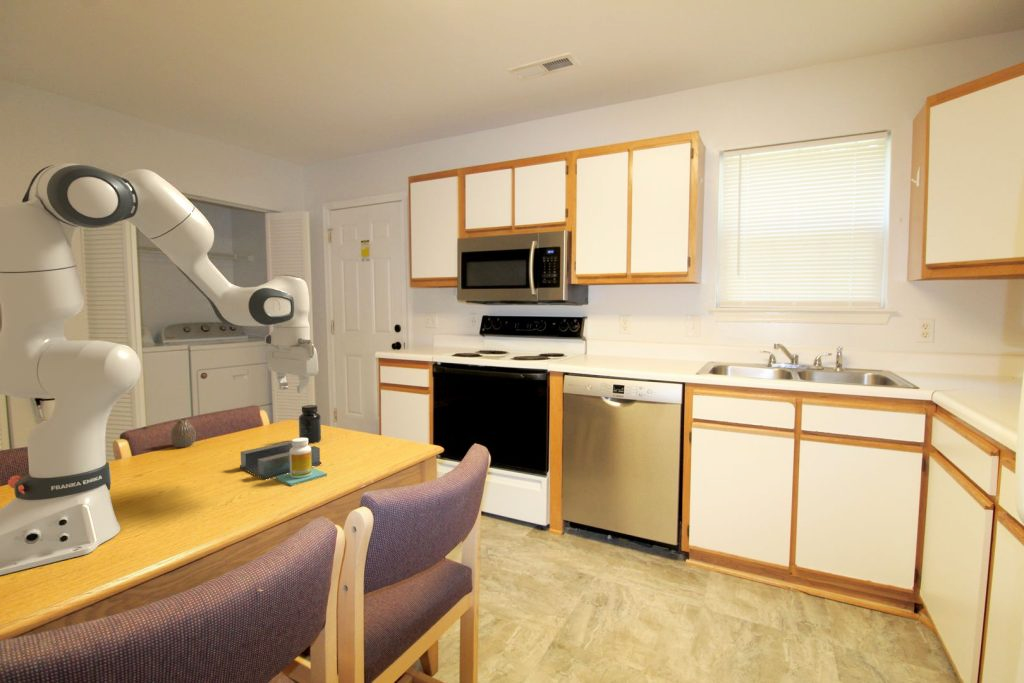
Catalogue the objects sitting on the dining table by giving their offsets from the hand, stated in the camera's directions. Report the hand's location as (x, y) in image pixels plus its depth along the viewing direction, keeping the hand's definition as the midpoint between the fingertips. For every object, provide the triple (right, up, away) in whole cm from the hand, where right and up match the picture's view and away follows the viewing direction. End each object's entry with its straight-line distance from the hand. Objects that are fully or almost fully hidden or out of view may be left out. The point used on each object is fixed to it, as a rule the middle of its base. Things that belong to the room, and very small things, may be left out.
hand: (292, 391), depth 129 cm
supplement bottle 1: (-11, -21, +37) cm, 44 cm away
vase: (-49, -21, +31) cm, 62 cm away
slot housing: (-8, -23, +11) cm, 27 cm away
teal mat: (+1, -23, +2) cm, 23 cm away
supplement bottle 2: (+1, -23, +2) cm, 23 cm away
